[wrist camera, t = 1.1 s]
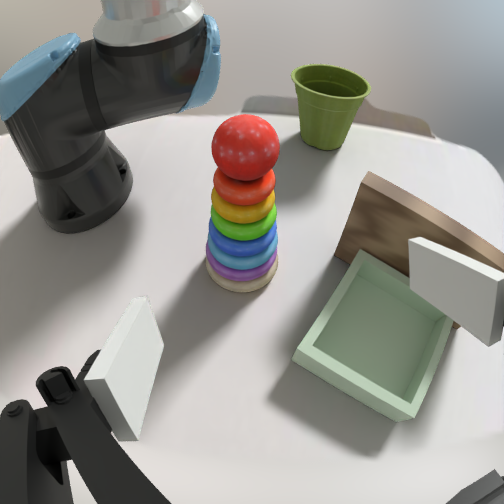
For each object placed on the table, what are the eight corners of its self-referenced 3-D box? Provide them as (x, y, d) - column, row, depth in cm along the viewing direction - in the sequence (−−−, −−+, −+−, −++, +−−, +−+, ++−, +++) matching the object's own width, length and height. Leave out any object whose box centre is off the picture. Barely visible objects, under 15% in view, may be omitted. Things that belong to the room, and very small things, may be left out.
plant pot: (318, 112, 55) (327, 58, 46) (369, 145, 50) (385, 89, 41) (270, 132, 51) (274, 72, 41) (323, 170, 46) (337, 106, 36)
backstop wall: (333, 255, 38) (361, 182, 28) (341, 243, 39) (368, 170, 29) (456, 329, 32) (517, 279, 22) (460, 316, 33) (518, 264, 23)
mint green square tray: (291, 359, 31) (296, 348, 27) (350, 268, 37) (360, 248, 33) (396, 422, 27) (414, 418, 23) (440, 322, 33) (457, 308, 29)
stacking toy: (249, 309, 34) (252, 174, 18) (192, 269, 36) (158, 131, 21) (290, 258, 37) (316, 117, 22) (235, 225, 40) (230, 86, 24)
